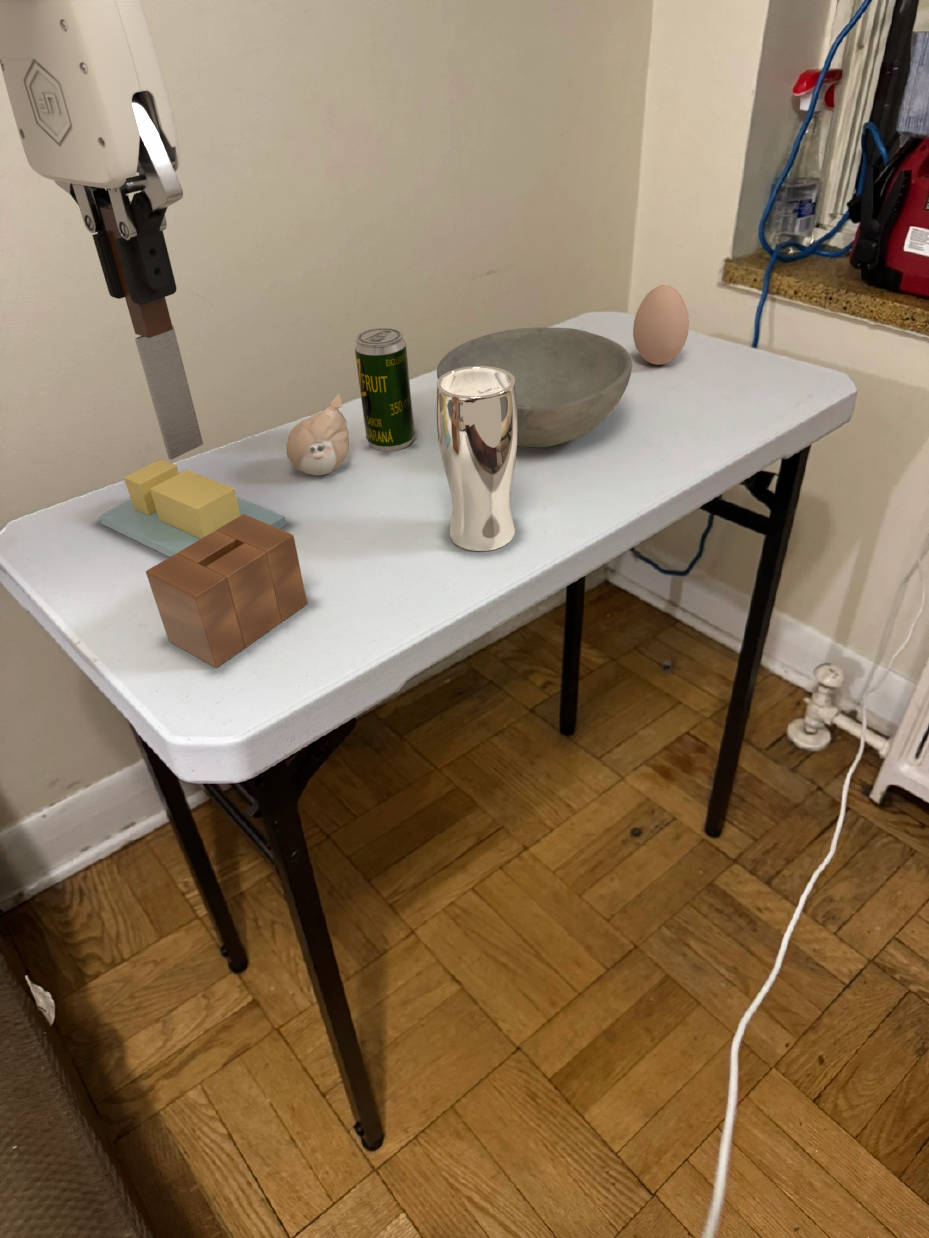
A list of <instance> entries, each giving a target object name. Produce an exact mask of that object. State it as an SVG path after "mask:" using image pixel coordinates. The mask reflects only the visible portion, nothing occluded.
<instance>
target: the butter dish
mask: <svg viewBox="0 0 929 1238" xmlns="http://www.w3.org/2000/svg"><path fill="white" fill-rule="evenodd" d="M236 498H237V502H238V506H239V510H240V514H241V515H243V514H245V515H247V516H250V517H252V518H254V519H257V520H259V521H262V522H264V523H266V524H269V525H271V526H274V527H276V528H278V529H281V530H282V529H283V528H284V527H286V526H287V521H286V517H285V516H284V515H282V514H279V513H277V512H274V511H272V510H271V509H270V510H269V509H267V508H265V507H262V506H260V505H257V504H255V503H252V502H251V501H248V500H245V499H244V498H240V497H238V496H236ZM98 517H99V520H100V523H101V525H102V526H105V527H107V528H109V529H111V530H113V531H116V532H117V533H119V534H122V535H123V536H125V537H127V538H129V539H132V540H134V541H135V542H138V543H140V544H142V545H144V546H146V547H148V548H150V549H152V550H155V551H156V552H158V553H161V554H163V555H164V556H167V557H168V558H169V557H171V556H173V555H174V554H177V553H178V552H179V551H181V550H183V549H185V548H186V547H188V546H190V545H191V544H193V543H195V542H197V541H198V540H200V538H197V537H195V536H193V535H191V534H189V533H187V532H184V531H182V530H180V529H178V528H176V527H173V526H171V525H169V524H167V523H165V522H162V521H160V520H159V517H158V514H157V511H156V512H154V513H152V514H150V515H147V514H145V513H143V512H141V511H138V510H136V509H134V507H133V504H132V501H131V498H130V499H129V500H126V501H125V502H122V503H120V504H119V505H116V506H114V507H113V508H111V509H109V510H107V511H105V512H103V513H100V514H99V515H98Z"/></svg>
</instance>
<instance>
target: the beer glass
mask: <svg viewBox="0 0 929 1238" xmlns="http://www.w3.org/2000/svg"><path fill="white" fill-rule="evenodd" d="M436 427H437V428H436V429H437V439H438V446H439V451H440V456H441V460H442V465H443V469H444V472H445V473H444V474H445V477H446V480H447V483H448V488H449V492H450V498H451V520H450V523H449V537H450V540H451V542H453V544H455V545H456V546H457V547H459V548H462V549H464V550H468V551H472V552H489V551H494V550H498V549H500V548H502V547H505V546H506V545H507V544H509V543H510V542H511V541H512V540H513V539H514V537H515V533H516V530H515V523H514V519H513V515H512V510H511V500H510V498H511V488H512V483H513V475H514V471H515V465H516V459H517V453H518V446H519V445H518V409H517V398H516V389H515V378H514V376H513V375H512V374H511V373H510V372H508V371H506V370H503V369H500V368H496V367H489V366H470V367H463V368H458V369H455V370H452V371H449V372H447V373H445V374H443V375H442V376H441V377H440V378H439V379H438V378H437V380H436Z"/></svg>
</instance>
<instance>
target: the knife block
mask: <svg viewBox="0 0 929 1238" xmlns="http://www.w3.org/2000/svg"><path fill="white" fill-rule="evenodd" d="M145 575H146V577H147V580H148V583H149V586H150V589H151V593H152V595H153V598H154V601H155V604H156V607H157V611H158V614H159V616H160V619H161V622H162V625H163V628H164V632H165V634H166V637H167V640H168V642H170V643H171V644H173V645H174V646H176V647H178V648H180V649H182V650H183V651H186V652H187V653H189V654H191V656H192V655H193V656H194V657H196V658H197V659H200V660H202V661H203V662H204V663H207V664H208V665H210V666H212V667H214V668H216V669H217V668H219V667H220V666H222V665H223V664H224V663H226V662H227V661H229V660H230V659H232V658H233V657H234V656H236V655H237V654H239V653H240V652H242V651H243V650H244V649H245V648H247V647H249V646H251V644H253V643H254V642H256V641H257V640H259V639H260V638H261V637H263V636H264V635H266V634H267V633H269V632H270V631H271V630H273V629H274V628H276V627H277V626H278V625H280V624H282V622H284V621H287V619H288V618H290V617H291V616H293V615H295V613H297V612H298V611H300V610H301V609H303V608H304V607H306V606H307V605H308V600H307V594H306V590H305V585H304V580H303V575H302V570H301V566H300V561H299V555H298V550H297V545H296V540H295V536H294V534H293V533H291V532H288V531H286V530H283V529H282V528H281V529H278V528H276V527H274V526H271V525H269V524H266V523H264V522H262V521H259V520H257V519H254V518H252V517H250V516H247V515H245V514H243V515H241V516H239V517H238V518H236V519H234V520H233V521H231V522H229V523H227V524H226V525H224V526H222V527H220V528H219V529H217V530H216V531H214V532H212V533H210V534H209V535H207V536H205V537H203V538H202V539H200V540H198V541H197V542H195V543H193V544H191V545H190V546H188V547H186V548H185V549H183V550H181V551H179V552H178V553H177V554H174V555H173V556H171V557H169V556H168V558H166V559H164V560H163V561H160V562H159V563H157V564H156V565H154V566H152V567H150V568H149V569H147V570H145Z"/></svg>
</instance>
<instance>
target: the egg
mask: <svg viewBox="0 0 929 1238" xmlns="http://www.w3.org/2000/svg"><path fill="white" fill-rule="evenodd" d="M686 304H687V303H686V302H685V300H684V297H683V296H682V295H681V293H680V292H679V291H678V289H676V288H675V287H673V286H671V285H668V284H662V285H659V286H656V287H654V288H653V289H651V290H649V292H648V293H646V295H645V297H644V298H643V300H642V301H641V302H640V305H639V307H638V309H637V311H636V313H635V315H634V320H633V327H632V338H633V342H634V346H635V348H636V350H637V352H638V354H639V355H640V356H641V358H643V359H644V360H645V361H646V362H648V363H650V364H651V365H655V366H661V365H666V364H668V363H670V362H671V361H673V360H674V359H675V358H676V357H677V356H678V355H679V354H680V353H681V351H682V350H683V348H684V347H685V345H686V343H687V341H688V336H689V332H690V331H689V330H690V329H689V328H690V318H689V317H690V316H689V311H688V309H687V305H686Z"/></svg>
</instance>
